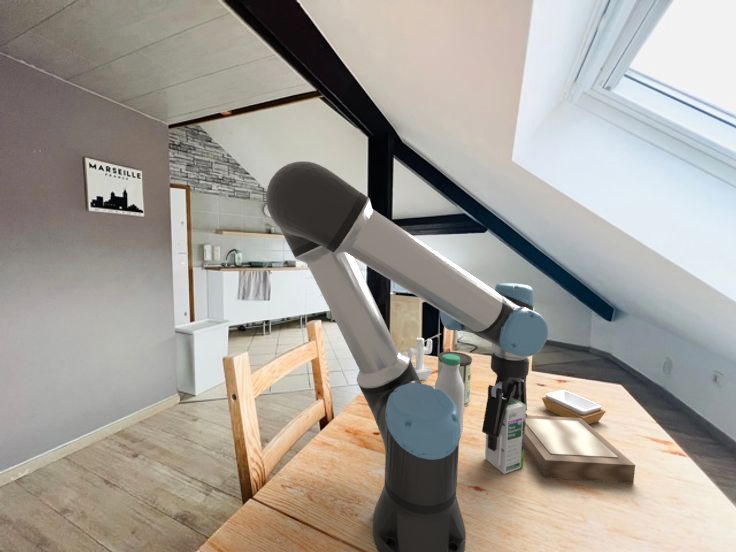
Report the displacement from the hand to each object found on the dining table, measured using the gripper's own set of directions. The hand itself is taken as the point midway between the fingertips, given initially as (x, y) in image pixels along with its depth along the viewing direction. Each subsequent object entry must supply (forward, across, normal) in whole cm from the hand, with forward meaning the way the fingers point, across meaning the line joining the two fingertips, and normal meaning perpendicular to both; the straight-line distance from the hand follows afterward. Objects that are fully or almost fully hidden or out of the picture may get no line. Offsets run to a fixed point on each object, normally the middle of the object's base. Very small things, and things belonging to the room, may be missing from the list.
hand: (503, 452), depth 70 cm
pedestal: (+3, +15, -8) cm, 17 cm away
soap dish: (+3, +36, -4) cm, 36 cm away
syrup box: (+3, 0, 0) cm, 3 cm away
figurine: (+3, +22, +42) cm, 47 cm away
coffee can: (+3, +17, +24) cm, 30 cm away
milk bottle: (+3, +1, +16) cm, 16 cm away
